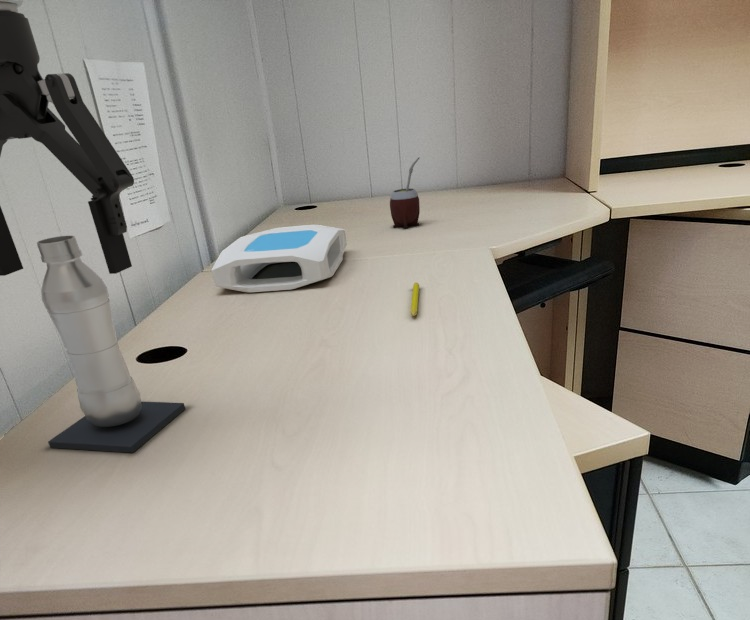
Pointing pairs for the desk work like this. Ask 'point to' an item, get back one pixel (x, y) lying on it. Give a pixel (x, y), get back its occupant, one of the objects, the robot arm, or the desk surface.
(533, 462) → the desk surface
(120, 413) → the plastic bottle
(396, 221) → the mate gourd
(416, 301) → the pencil
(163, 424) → the coaster
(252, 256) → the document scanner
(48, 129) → the robot arm
